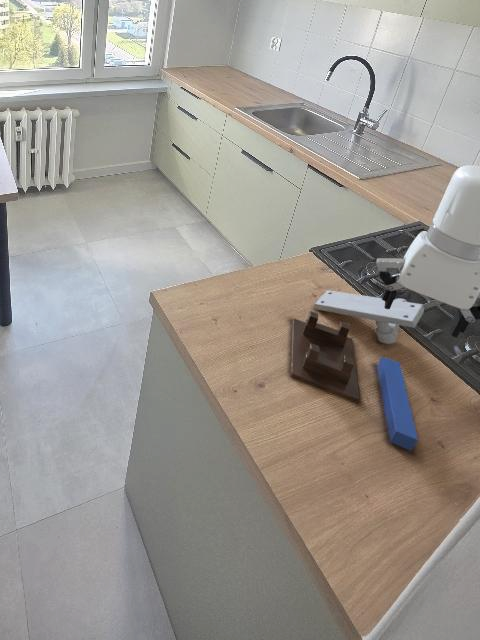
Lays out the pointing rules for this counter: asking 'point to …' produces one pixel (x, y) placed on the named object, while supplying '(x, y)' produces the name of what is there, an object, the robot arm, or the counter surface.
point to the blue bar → (396, 404)
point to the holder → (324, 357)
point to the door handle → (373, 312)
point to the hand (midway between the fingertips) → (418, 317)
